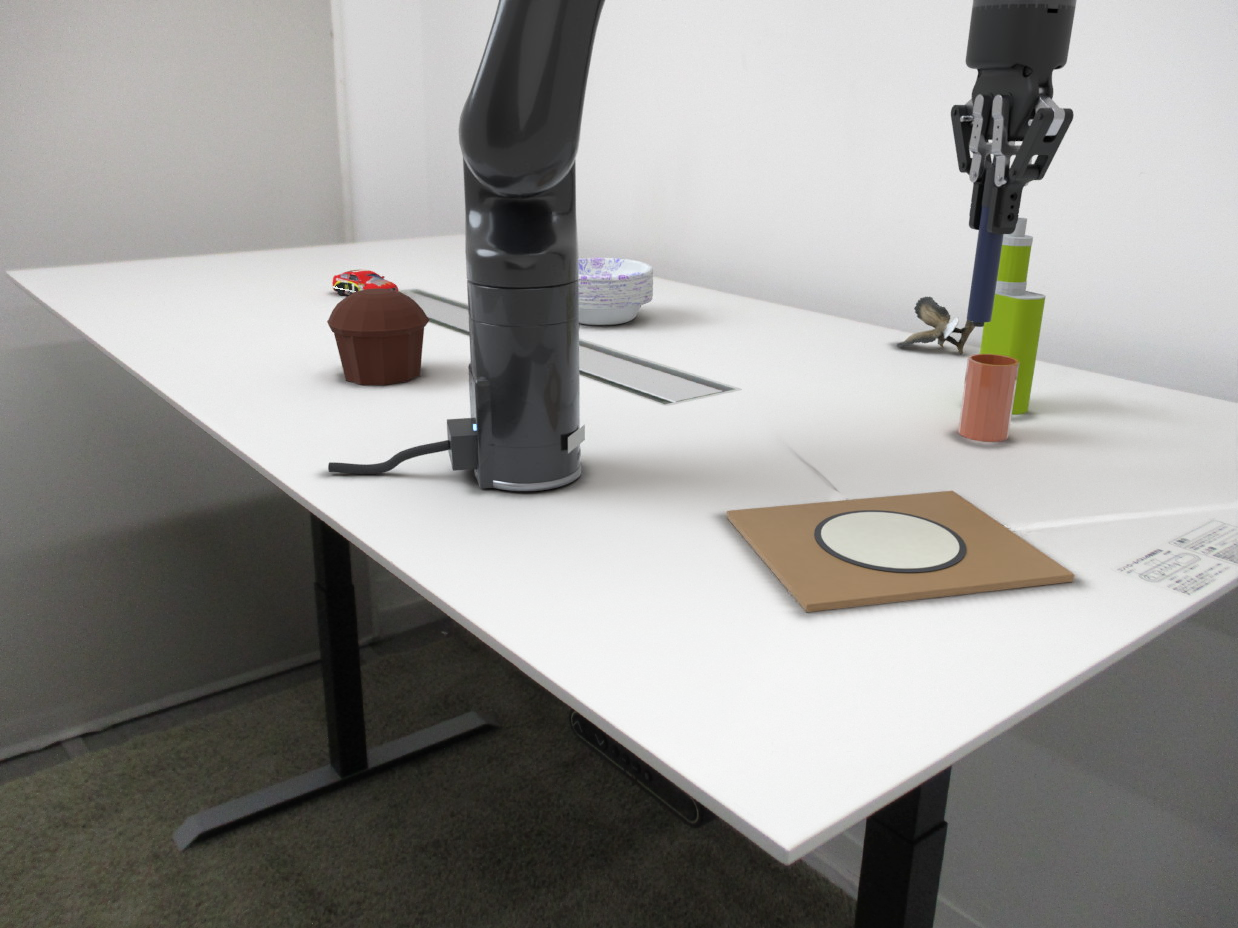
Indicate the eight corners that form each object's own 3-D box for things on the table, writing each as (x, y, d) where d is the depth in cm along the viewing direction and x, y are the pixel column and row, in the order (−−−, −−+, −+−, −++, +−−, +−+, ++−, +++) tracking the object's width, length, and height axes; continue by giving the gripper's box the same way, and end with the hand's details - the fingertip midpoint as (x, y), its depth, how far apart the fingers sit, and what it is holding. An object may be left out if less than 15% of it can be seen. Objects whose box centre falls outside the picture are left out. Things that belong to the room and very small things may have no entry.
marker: (973, 329, 86) (996, 170, 81) (960, 323, 87) (981, 168, 83) (995, 328, 86) (1019, 170, 81) (981, 322, 88) (1003, 168, 83)
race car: (405, 299, 163) (403, 274, 161) (377, 304, 159) (375, 278, 157) (356, 288, 171) (354, 264, 169) (328, 293, 167) (326, 268, 165)
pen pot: (974, 447, 96) (985, 367, 94) (948, 432, 101) (958, 355, 98) (1016, 444, 97) (1029, 364, 95) (989, 429, 102) (1000, 352, 99)
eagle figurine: (978, 338, 134) (915, 317, 138) (983, 300, 128) (917, 279, 133) (952, 377, 131) (889, 354, 135) (956, 339, 126) (890, 317, 130)
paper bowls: (594, 336, 139) (594, 278, 136) (529, 317, 150) (527, 264, 147) (674, 320, 149) (675, 266, 146) (606, 304, 159) (606, 254, 156)
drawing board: (806, 612, 66) (807, 602, 66) (726, 517, 80) (726, 508, 80) (1073, 581, 70) (1075, 572, 70) (951, 496, 85) (952, 488, 85)
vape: (990, 400, 111) (1016, 215, 104) (1033, 415, 106) (1064, 222, 99) (965, 405, 110) (990, 217, 103) (1008, 420, 105) (1037, 223, 98)
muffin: (312, 382, 116) (303, 296, 113) (366, 359, 126) (359, 279, 123) (401, 392, 113) (395, 304, 109) (450, 368, 122) (445, 286, 119)
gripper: (932, 8, 83) (908, 222, 89) (1036, -6, 71) (1000, 244, 77) (1012, 11, 85) (983, 220, 91) (1127, -2, 72) (1085, 242, 78)
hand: (991, 230), depth 84 cm, fingers closed on marker, 2 cm apart
